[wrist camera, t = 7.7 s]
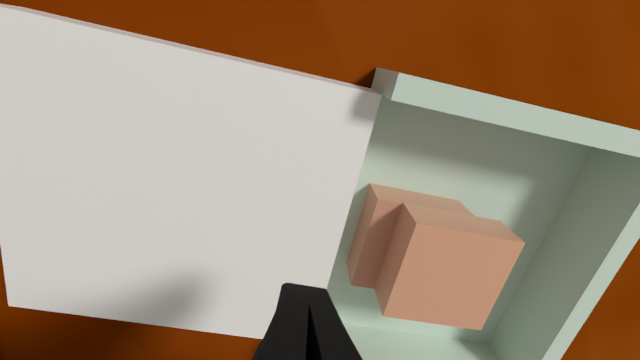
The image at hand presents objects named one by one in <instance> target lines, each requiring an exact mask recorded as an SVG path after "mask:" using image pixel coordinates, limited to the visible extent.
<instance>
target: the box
mask: <svg viewBox="0 0 640 360" xmlns="http://www.w3.org/2000/svg"><path fill="white" fill-rule="evenodd" d="M371 89H373V90H374V91H376V92H378V93H380V94H381V95H382V97H381V101H380V104H379V108H378V111H377V115H376V118H375V122H374V125H373V129H372V132H371V136H370V139H369V143H368V146H367V150H366V153H365V157H364V160H363V164H362V167H361V171H360V174H359V178H358V181H357V185H356V188H355V192H354V195H353V199H352V202H351V206H350V209H349V213H348V216H347V220H346V223H345V227H344V230H343V234H342V237H341V241H340V244H339V248H338V251H337V255H336V258H335V262H334V265H333V269H332V272H331V276H330V279H329V283H328V286H327V291H328V293H329V295H330V297H331V300H332V302H333V304H334V306H335V308H336V310H337V312H338V315H339V317H340V319H341V321H342V323H343V325H344V327H345V328H346V330H347V332H348V334H349V336H350V338H351V340H352V341H353V343H354V345H355V347H356V349H357V350H358V352H359V354H360V356H361V357H362V359H363V360H560V359H561V358H562V356H563V354H564V353H565V351H566V350H567V348H568V347H569V345H570V344H571V342H572V341H573V339H574V338H575V336H576V334H577V333H578V331H579V330H580V328H581V327H582V325H583V324H584V322H585V321H586V319H587V318H588V316H589V314H590V313H591V311H592V310H593V308H594V307H595V305H596V304H597V302H598V301H599V299H600V297H601V296H602V294H603V293H604V291H605V290H606V288H607V287H608V285H609V284H610V282H611V281H612V279H613V277H614V276H615V274H616V273H617V271H618V270H619V268H620V267H621V265H622V264H623V262H624V261H625V259H626V257H627V256H628V254H629V253H630V251H631V250H632V248H633V247H634V245H635V244H636V242H637V240H638V239H639V237H640V131H638V130H634V129H630V128H626V127H622V126H618V125H614V124H610V123H606V122H601V121H597V120H593V119H589V118H585V117H581V116H577V115H573V114H568V113H564V112H560V111H556V110H552V109H548V108H544V107H540V106H535V105H531V104H527V103H523V102H519V101H515V100H511V99H507V98H502V97H498V96H494V95H490V94H486V93H482V92H478V91H474V90H469V89H465V88H461V87H457V86H453V85H449V84H445V83H441V82H436V81H432V80H428V79H424V78H420V77H416V76H412V75H408V74H403V73H399V72H395V71H391V70H387V69H383V68H379V67H376V71H375V74H374V78H373V82H372V85H371ZM370 183H372V184H377V185H383V186H388V187H393V188H398V189H403V190H408V191H413V192H419V193H424V194H429V195H434V196H439V197H444V198H449V199H454V200H459V201H460V202H461V203H462V204H463V205H464V206H465V207H466V208H467V209H468V210H469V211H470V212H471V213H472V214H473V215H474V216H477V217H483V218H488V219H493V220H499V221H501V222H502V223H503V224H504V225H506V226H507V227H508V228H509V229H510V230H511V231H512V232H514V233H515V234H516V235H517V236H518V237H519V238H520V239H522V240H523V241H524V242H525V245H524V247H523V249H522V251H521V253H520V255H519V257H518V259H517V261H516V263H515V265H514V267H513V269H512V270H511V272H510V274H509V276H508V278H507V280H506V282H505V284H504V286H503V288H502V290H501V292H500V294H499V296H498V298H497V300H496V302H495V304H494V306H493V308H492V310H491V312H490V314H489V316H488V318H487V320H486V322H485V324H484V326H483V327H482V329H481V330H474V329H467V328H460V327H453V326H446V325H439V324H432V323H425V322H418V321H411V320H404V319H397V318H390V317H383V316H382V313H381V309H380V306H379V303H378V299H377V296H376V292H375V289H372V288H365V287H359V286H352V285H351V283H350V278H349V273H348V268H347V263H346V262H347V258H348V255H349V252H350V248H351V245H352V242H353V238H354V235H355V231H356V228H357V225H358V221H359V218H360V215H361V211H362V208H363V205H364V201H365V198H366V195H367V191H368V188H369V185H370Z"/></svg>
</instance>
